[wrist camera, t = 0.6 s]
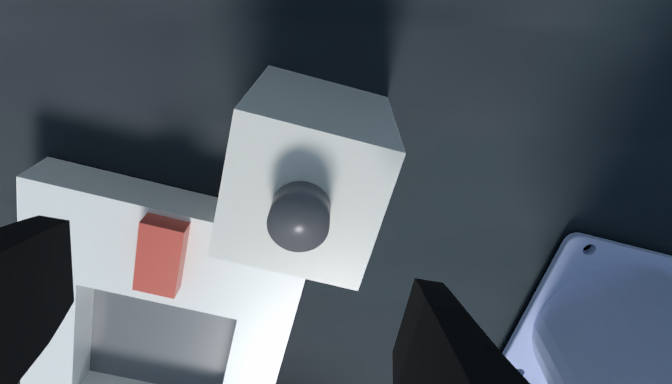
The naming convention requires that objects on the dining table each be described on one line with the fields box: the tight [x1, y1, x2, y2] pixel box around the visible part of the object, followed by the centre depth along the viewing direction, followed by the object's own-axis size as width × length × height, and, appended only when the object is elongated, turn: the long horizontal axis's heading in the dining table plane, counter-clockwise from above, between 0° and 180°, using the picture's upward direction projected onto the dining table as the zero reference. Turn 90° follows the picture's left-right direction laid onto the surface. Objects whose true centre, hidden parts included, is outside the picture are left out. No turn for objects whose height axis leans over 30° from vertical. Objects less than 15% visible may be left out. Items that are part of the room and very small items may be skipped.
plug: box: [208, 65, 406, 291], centre depth 15 cm, size 4×4×7 cm
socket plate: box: [16, 157, 305, 384], centre depth 21 cm, size 11×15×3 cm
